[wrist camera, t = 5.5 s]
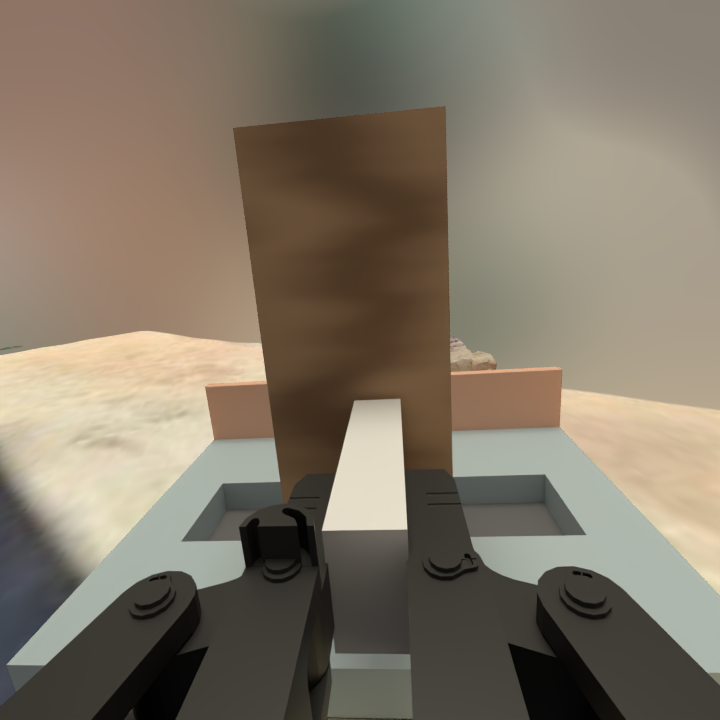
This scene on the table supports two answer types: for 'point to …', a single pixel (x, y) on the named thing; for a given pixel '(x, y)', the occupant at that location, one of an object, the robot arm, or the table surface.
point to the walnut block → (351, 280)
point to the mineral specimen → (469, 358)
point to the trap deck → (480, 506)
